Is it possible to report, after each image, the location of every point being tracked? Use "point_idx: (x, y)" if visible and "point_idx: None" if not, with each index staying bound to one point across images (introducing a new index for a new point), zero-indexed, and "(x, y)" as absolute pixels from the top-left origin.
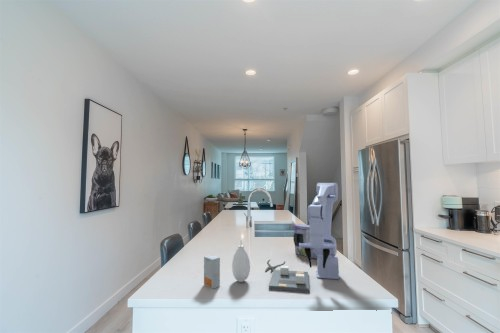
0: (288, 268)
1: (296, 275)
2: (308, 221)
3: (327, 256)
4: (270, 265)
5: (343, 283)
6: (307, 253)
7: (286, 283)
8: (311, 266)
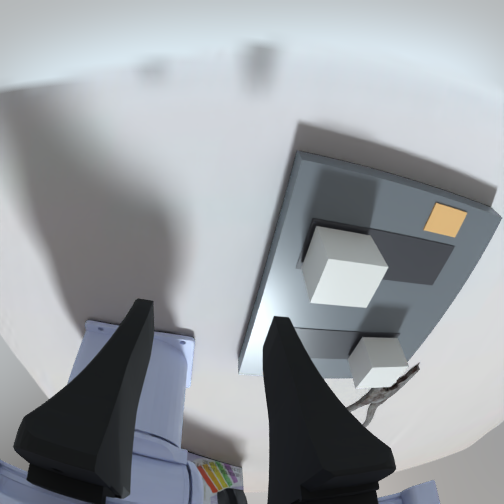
0: (355, 375)
1: (379, 275)
2: None
3: (62, 395)
4: (372, 408)
5: (65, 278)
6: (363, 445)
7: (419, 239)
8: (276, 322)
